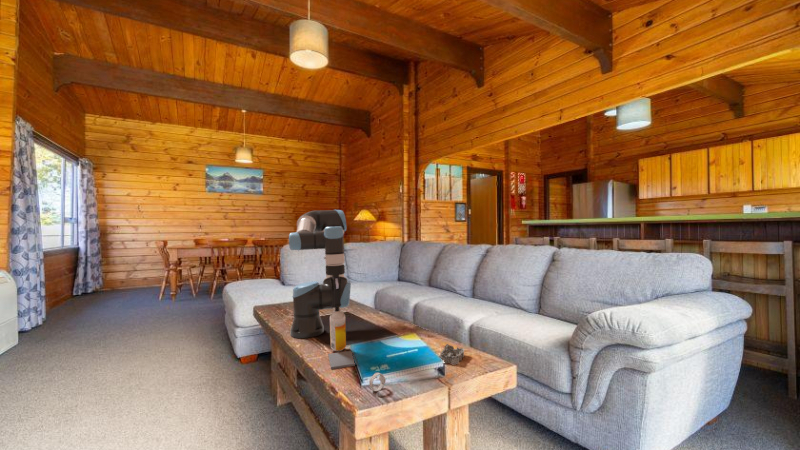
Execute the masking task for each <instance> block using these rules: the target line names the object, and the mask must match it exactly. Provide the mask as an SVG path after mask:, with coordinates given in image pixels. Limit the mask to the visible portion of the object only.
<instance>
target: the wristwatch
mask: <svg viewBox="0 0 800 450" xmlns="http://www.w3.org/2000/svg"><path fill="white" fill-rule="evenodd" d="M377 377H378V379H379V381H380V384H379V386H378V387H376V388H374V383H373V382H374V381H375V379H376V378H377ZM386 382H387V381H386V377H385V376H384V375H383V374H382V373H380V372H375V373H374V374H373V375H372V376H371V377H370V378H369V383H368V384H369V388H370V390H372V391H373V392H380V391H381V390H382V389H383V388H384V385H385V384H386Z"/></svg>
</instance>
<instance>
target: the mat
mask: <svg viewBox="0 0 800 450" xmlns="http://www.w3.org/2000/svg"><path fill="white" fill-rule="evenodd" d="M351 351H352V350H348V351H347V350H346V351H338V352H334V353H333V352H332V353H327V355H328V356H327V358H328V361H329V366H330V369H331V370H336V369H343V368H349V367H356V366H355V363H354V359H353V356H354V355H353V356H352V353H353V351H352V352H351Z"/></svg>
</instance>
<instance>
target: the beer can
mask: <svg viewBox="0 0 800 450" xmlns="http://www.w3.org/2000/svg"><path fill="white" fill-rule="evenodd" d="M346 321H347V320H346V315H345V313H344V312H343V311H341V310H340V311H336V312H333V311H332V312H331V313H330V315H329V338H330V348H331V349H332V351H334V352H343V350H344V349H345V348H346V347H347V337H346V336H347V332H346V331H347V329H346V327H347V326H346V325H347V324H346Z"/></svg>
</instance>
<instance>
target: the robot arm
mask: <svg viewBox="0 0 800 450" xmlns="http://www.w3.org/2000/svg"><path fill="white" fill-rule="evenodd" d="M346 231H347V219H346V215H345V213H344V210H341V209H330V210H329V209H328V210H326V209H325V210H311V211H308V212H305V213H304V214H302V215H300V216H299V218H298V219H297V221H296V231H295V232H290V233H289V235H288V247H289V249H290V250H291V251H298V252H299V251H307V250H324V251H325V252H324V254H325V256H324V257H323V260H325V275H326V276H325V278H324V279H323V280H322V281H323V282H322V284H320V283H319V281H318V280H317V281H313V280H312V281H307V282H303V283H300V284H296V285H295V286H294V287H293V288H292V301H293V302H292V303H293V304H292V305H293V319H292V323H291V327H290V330H289V331H290V332H289V333H290V336H291V337H292V338H295V339H307V338H313V337H318V336H320V335H322V334H324V332H325V327H324V323H323V320H322V318H321V314H320V310H321V311H322V310H332V313H333V312H336V311H340V312H341V309H344V308H348V307H349V306H350V299H351V284H352V283H351V282H349V281H348V278H347V276H345V271H346V268H345V251H344V246H345V245H344V243H345V242H344V234H345V232H346Z"/></svg>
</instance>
